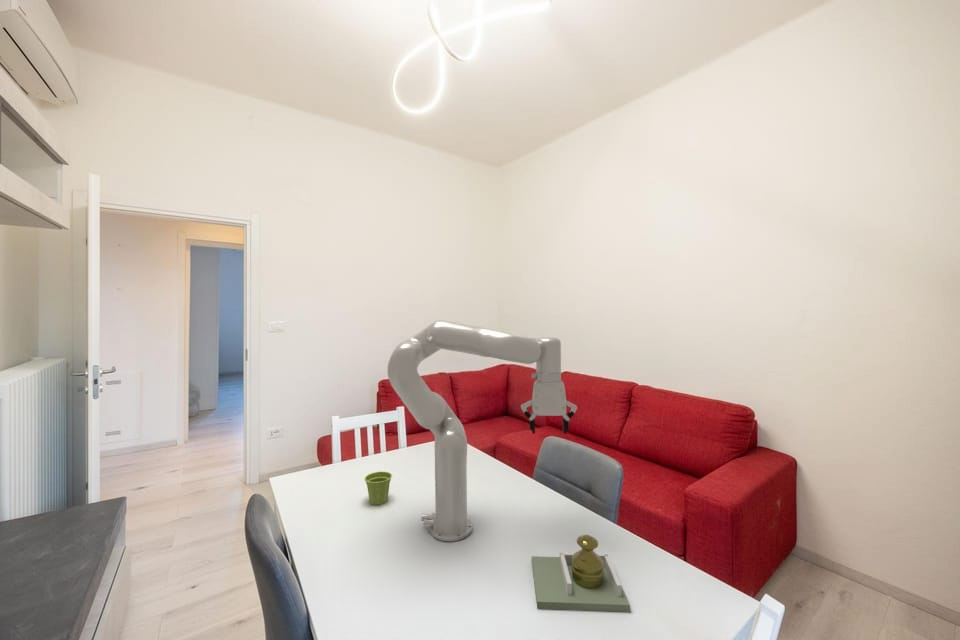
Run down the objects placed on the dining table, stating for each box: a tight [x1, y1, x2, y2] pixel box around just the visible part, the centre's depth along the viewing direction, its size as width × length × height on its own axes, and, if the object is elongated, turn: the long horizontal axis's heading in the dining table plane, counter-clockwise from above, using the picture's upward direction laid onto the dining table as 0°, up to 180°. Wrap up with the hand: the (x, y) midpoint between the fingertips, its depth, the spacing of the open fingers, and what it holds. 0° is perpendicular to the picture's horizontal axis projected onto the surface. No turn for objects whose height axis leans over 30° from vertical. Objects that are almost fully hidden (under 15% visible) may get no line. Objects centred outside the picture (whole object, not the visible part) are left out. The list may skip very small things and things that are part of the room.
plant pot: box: [364, 471, 393, 506], centre depth 134 cm, size 9×9×9 cm
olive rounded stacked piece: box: [572, 534, 604, 588], centre depth 91 cm, size 7×7×10 cm
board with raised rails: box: [531, 551, 631, 613], centre depth 91 cm, size 20×16×4 cm
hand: (548, 432), depth 118 cm, fingers open, 9 cm apart
